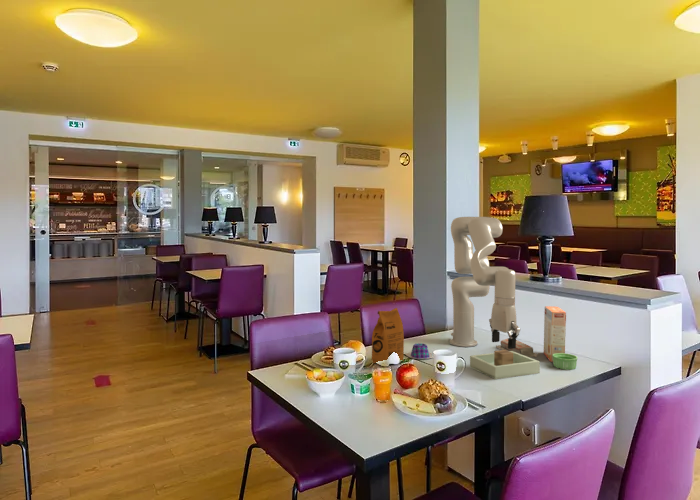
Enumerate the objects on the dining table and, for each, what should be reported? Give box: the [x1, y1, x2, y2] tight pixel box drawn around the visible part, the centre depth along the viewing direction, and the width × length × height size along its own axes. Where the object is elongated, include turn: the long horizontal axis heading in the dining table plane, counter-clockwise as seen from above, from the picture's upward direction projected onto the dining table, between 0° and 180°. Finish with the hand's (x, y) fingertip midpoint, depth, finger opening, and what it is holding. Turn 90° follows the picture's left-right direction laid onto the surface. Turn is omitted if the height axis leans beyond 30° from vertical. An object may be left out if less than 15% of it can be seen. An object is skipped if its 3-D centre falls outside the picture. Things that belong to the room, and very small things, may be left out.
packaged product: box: [495, 338, 538, 358], centre depth 208 cm, size 18×5×10 cm
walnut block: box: [493, 349, 513, 366], centre depth 182 cm, size 5×5×6 cm
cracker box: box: [543, 305, 567, 363], centre depth 198 cm, size 14×6×21 cm, turn 168°
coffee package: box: [371, 307, 405, 364], centre depth 193 cm, size 10×12×22 cm
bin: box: [469, 351, 541, 380], centre depth 182 cm, size 16×20×4 cm
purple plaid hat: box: [405, 342, 433, 360], centre depth 203 cm, size 12×12×5 cm
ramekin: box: [552, 352, 578, 371], centre depth 186 cm, size 9×9×4 cm
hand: (503, 345), depth 183 cm, fingers open, 9 cm apart
